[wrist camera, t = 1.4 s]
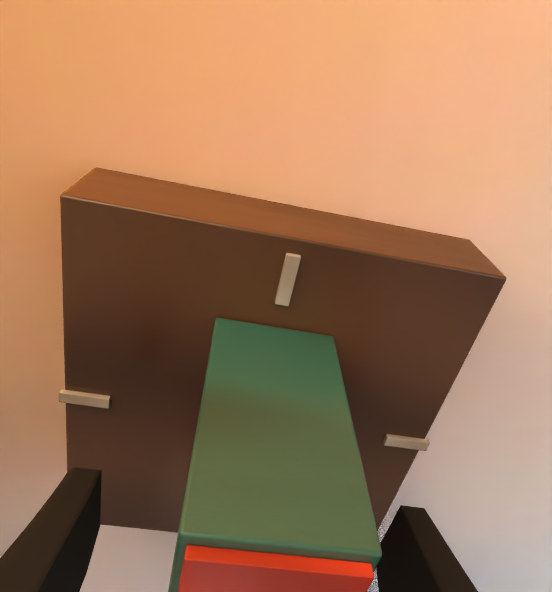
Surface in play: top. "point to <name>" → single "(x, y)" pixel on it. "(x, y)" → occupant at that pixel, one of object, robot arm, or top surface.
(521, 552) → the top surface
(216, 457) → the tin
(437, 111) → the top surface
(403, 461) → the stand
